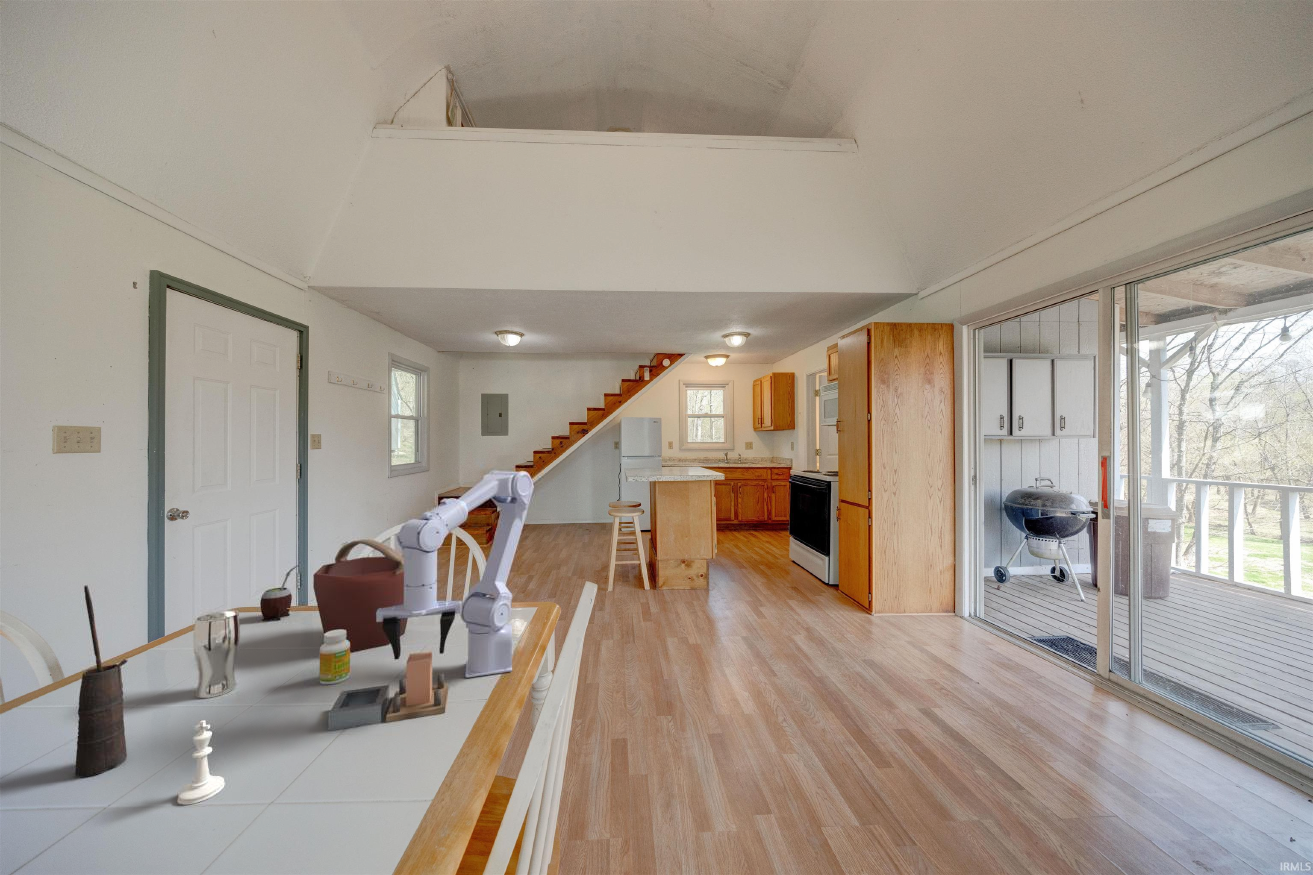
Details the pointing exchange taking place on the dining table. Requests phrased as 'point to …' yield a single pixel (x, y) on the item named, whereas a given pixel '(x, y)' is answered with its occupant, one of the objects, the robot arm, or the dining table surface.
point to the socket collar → (359, 707)
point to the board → (435, 706)
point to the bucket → (360, 594)
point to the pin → (419, 678)
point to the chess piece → (201, 771)
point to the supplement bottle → (334, 658)
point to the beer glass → (216, 652)
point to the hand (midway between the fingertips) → (419, 654)
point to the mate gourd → (276, 602)
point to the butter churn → (100, 713)
